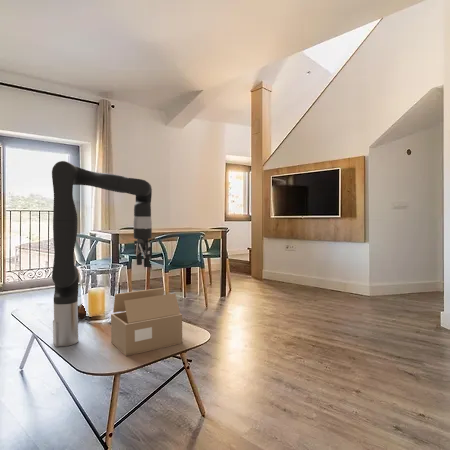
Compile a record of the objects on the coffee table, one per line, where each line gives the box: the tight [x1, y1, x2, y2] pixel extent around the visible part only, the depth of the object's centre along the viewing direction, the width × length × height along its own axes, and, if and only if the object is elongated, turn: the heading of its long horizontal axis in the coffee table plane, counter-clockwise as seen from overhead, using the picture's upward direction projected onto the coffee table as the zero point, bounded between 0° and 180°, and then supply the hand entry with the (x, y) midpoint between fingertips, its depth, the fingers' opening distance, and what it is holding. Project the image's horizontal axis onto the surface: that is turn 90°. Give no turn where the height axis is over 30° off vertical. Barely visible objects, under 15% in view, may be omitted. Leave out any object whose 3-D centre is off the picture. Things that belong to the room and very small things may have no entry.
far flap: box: [112, 287, 165, 313], centre depth 154 cm, size 22×9×1 cm
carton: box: [110, 311, 183, 357], centre depth 148 cm, size 24×18×12 cm
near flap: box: [124, 293, 181, 323], centre depth 143 cm, size 22×9×1 cm
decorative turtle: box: [78, 303, 87, 320], centre depth 186 cm, size 10×15×8 cm, turn 135°
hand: (142, 265), depth 151 cm, fingers open, 7 cm apart
